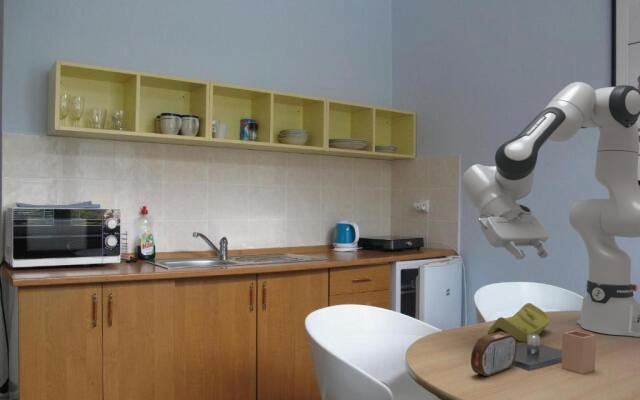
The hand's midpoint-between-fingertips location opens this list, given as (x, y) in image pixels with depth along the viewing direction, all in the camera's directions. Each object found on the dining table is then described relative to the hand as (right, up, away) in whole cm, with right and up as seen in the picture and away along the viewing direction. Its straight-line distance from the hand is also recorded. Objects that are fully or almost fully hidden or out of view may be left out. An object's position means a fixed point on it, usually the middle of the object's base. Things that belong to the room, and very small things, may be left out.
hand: (533, 257), depth 135 cm
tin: (-14, -24, -14) cm, 31 cm away
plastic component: (+5, -24, +21) cm, 33 cm away
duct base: (-2, -24, -2) cm, 24 cm away
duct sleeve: (+6, -24, -10) cm, 27 cm away
